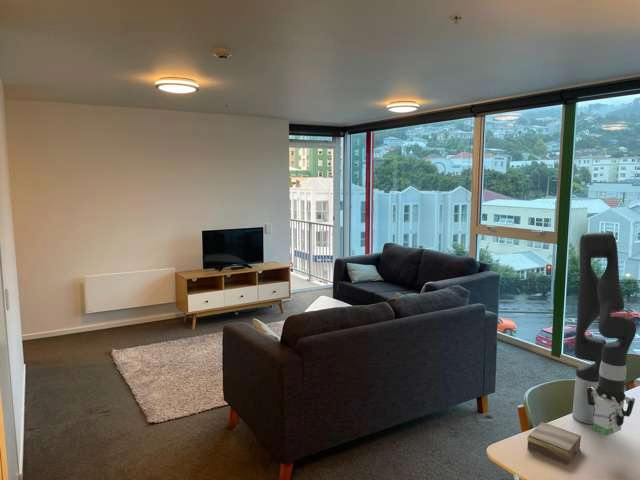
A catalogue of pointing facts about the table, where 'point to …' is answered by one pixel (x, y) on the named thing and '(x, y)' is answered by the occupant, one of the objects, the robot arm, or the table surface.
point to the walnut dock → (554, 442)
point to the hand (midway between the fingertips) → (607, 421)
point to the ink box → (606, 416)
